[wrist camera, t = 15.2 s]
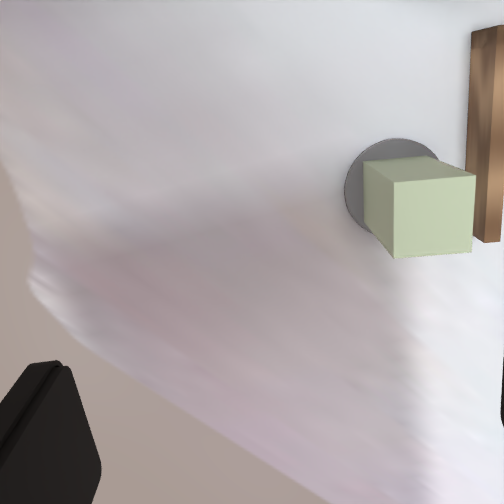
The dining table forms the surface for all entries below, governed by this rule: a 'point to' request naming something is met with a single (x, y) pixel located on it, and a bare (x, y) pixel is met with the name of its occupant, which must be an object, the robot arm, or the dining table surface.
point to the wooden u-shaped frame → (486, 131)
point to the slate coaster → (377, 152)
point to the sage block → (419, 206)
